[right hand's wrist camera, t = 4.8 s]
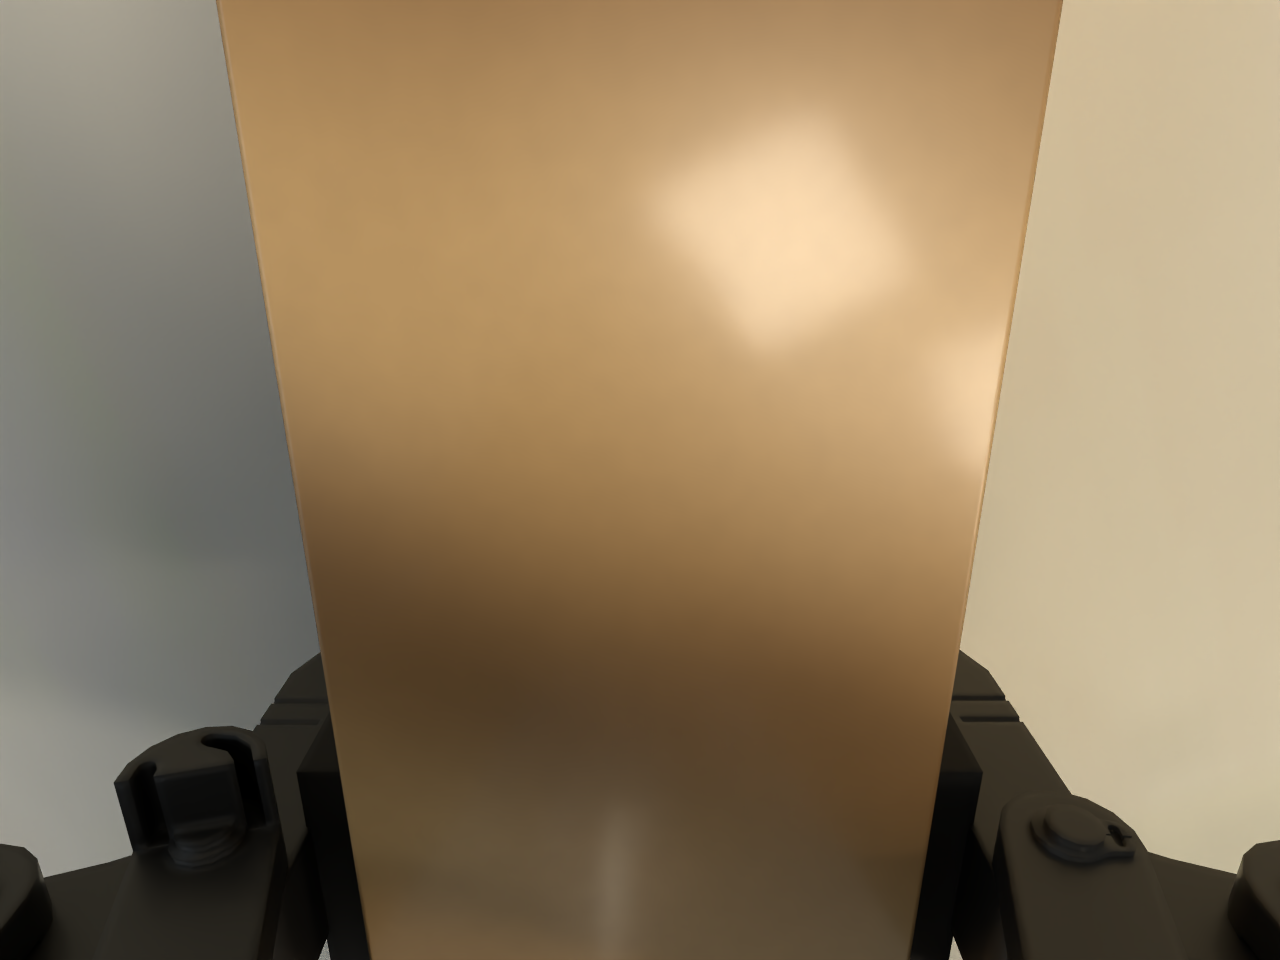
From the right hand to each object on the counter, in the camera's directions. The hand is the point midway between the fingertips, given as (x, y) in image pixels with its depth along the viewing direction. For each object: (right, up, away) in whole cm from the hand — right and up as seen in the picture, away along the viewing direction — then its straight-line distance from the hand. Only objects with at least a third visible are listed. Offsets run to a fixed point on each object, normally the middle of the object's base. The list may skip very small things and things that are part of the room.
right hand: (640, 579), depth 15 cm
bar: (0, +31, -11) cm, 33 cm away
